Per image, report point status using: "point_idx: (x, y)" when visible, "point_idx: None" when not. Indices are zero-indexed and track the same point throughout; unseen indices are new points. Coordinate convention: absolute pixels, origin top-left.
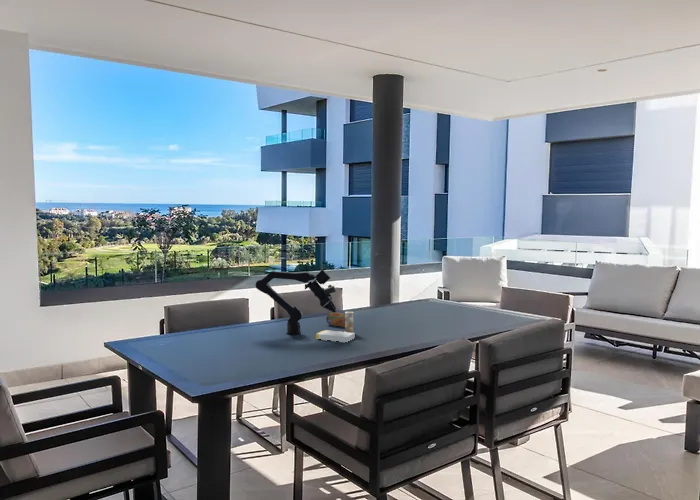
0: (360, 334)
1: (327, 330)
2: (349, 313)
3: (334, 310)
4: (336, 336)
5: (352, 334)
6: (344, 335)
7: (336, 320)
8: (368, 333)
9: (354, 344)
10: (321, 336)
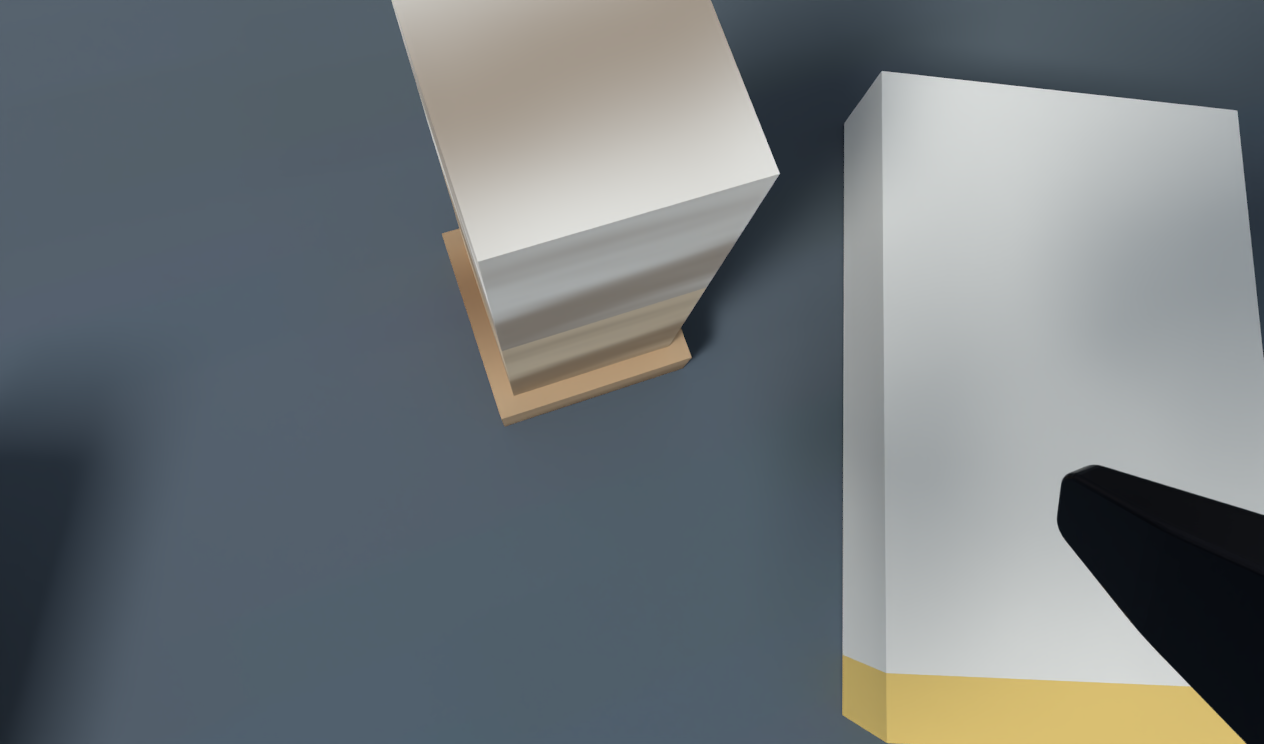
0: None
1: (911, 663)
2: (719, 42)
3: (1179, 512)
4: (1248, 303)
5: (986, 86)
6: (1153, 180)
7: None
8: (368, 13)
9: (1195, 26)
10: None
